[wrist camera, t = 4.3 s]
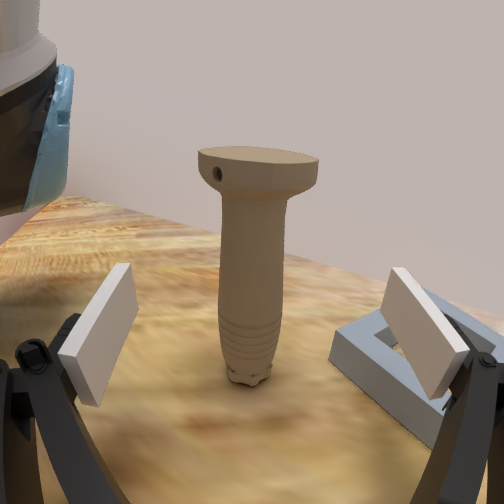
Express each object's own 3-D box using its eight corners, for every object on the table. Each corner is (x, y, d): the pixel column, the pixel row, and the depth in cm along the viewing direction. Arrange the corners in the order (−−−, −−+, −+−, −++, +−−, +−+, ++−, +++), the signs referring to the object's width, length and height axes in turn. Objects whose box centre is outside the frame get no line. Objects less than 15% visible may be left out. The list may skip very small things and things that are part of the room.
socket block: (328, 359, 23) (335, 329, 22) (413, 311, 28) (421, 286, 27) (441, 458, 14) (464, 432, 12) (504, 372, 19) (519, 347, 18)
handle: (242, 336, 25) (247, 144, 19) (303, 378, 21) (336, 160, 15) (194, 363, 22) (180, 150, 16) (254, 415, 18) (269, 166, 12)
